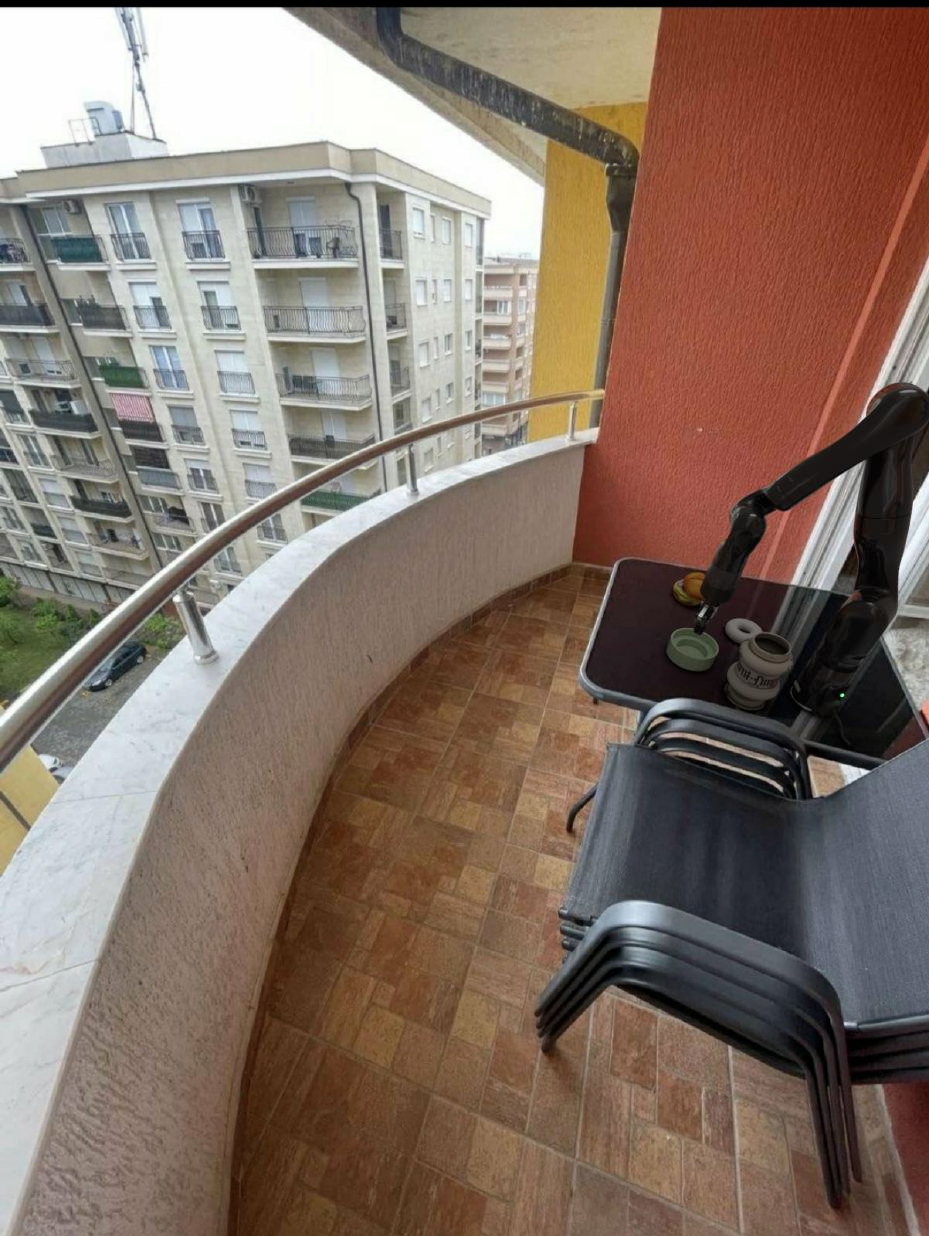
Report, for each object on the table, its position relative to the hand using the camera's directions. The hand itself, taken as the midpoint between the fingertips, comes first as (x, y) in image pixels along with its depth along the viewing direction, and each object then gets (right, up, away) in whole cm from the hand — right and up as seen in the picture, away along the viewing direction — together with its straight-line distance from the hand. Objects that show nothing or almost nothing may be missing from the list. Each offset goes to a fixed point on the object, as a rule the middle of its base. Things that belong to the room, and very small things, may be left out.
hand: (698, 632), depth 144 cm
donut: (+18, -2, +13) cm, 22 cm away
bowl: (0, -7, +5) cm, 8 cm away
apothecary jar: (+10, -16, -5) cm, 19 cm away
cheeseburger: (+8, +10, +25) cm, 28 cm away
